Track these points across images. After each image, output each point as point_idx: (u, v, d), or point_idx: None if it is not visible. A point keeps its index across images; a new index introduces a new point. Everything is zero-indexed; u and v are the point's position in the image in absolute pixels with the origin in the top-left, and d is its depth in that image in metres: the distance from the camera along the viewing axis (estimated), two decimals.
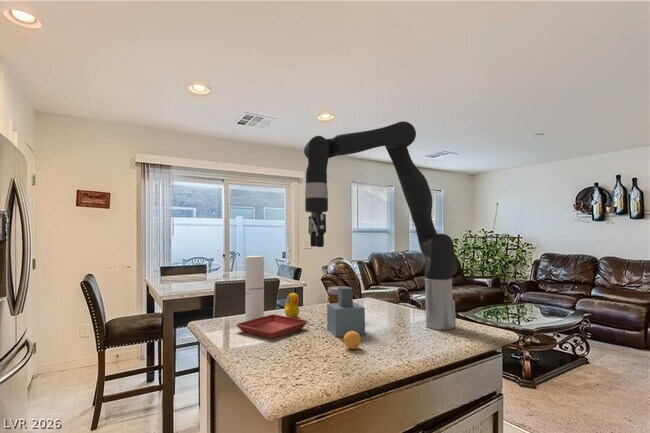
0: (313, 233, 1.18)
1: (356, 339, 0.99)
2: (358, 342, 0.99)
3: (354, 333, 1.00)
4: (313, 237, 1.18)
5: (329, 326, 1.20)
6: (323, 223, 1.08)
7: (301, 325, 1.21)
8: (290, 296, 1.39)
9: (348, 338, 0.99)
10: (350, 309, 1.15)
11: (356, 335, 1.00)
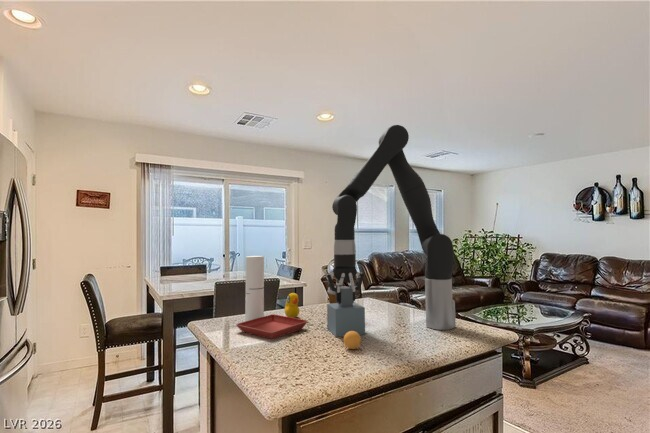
0: None
1: (356, 339, 0.99)
2: (358, 342, 0.99)
3: (354, 333, 1.00)
4: None
5: (329, 326, 1.20)
6: None
7: (301, 325, 1.21)
8: (290, 296, 1.39)
9: (348, 338, 0.99)
10: (350, 309, 1.15)
11: (356, 335, 1.00)
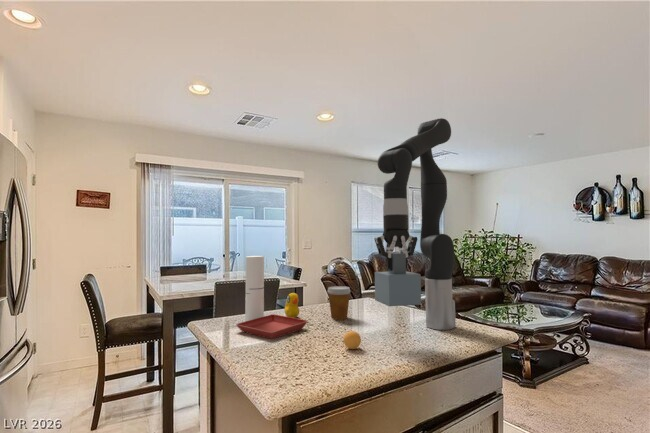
0: None
1: (356, 339, 0.99)
2: (358, 342, 0.99)
3: (354, 333, 1.00)
4: None
5: (378, 296, 1.07)
6: None
7: (301, 325, 1.21)
8: (290, 296, 1.39)
9: (348, 338, 0.99)
10: (404, 275, 1.01)
11: (356, 335, 1.00)
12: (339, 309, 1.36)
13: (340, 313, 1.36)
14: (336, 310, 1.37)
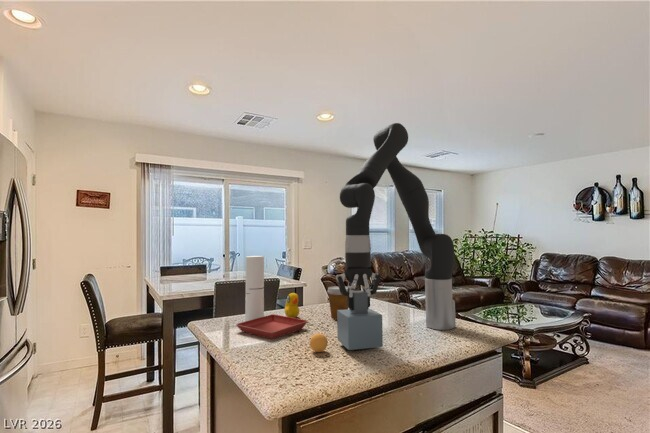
0: None
1: (321, 348, 0.97)
2: (317, 347, 0.96)
3: (324, 349, 0.98)
4: None
5: (340, 337, 1.03)
6: None
7: (301, 325, 1.21)
8: (290, 296, 1.39)
9: (326, 342, 0.98)
10: (365, 317, 0.97)
11: (322, 350, 0.97)
12: (339, 309, 1.36)
13: None
14: (336, 310, 1.37)
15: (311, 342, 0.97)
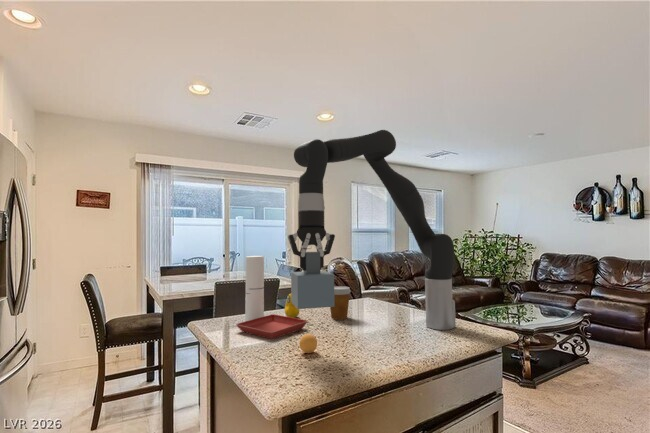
0: None
1: (313, 346, 0.96)
2: (311, 350, 0.96)
3: (316, 341, 0.98)
4: None
5: (292, 298, 1.00)
6: None
7: (301, 325, 1.21)
8: (290, 296, 1.39)
9: (310, 338, 0.97)
10: (315, 276, 0.94)
11: (316, 344, 0.97)
12: (339, 309, 1.36)
13: (340, 313, 1.36)
14: (336, 310, 1.37)
15: (304, 351, 0.97)
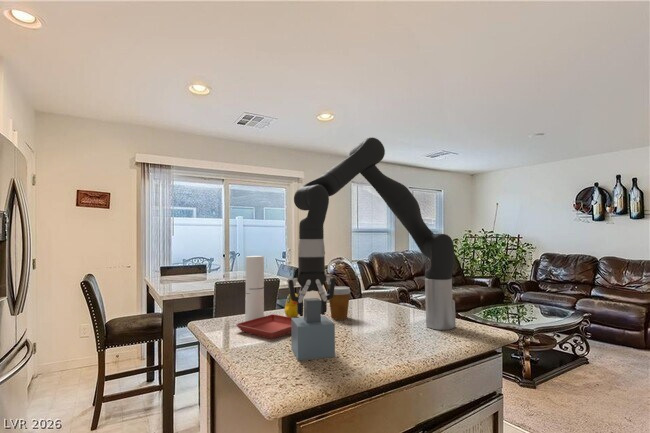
0: None
1: None
2: None
3: None
4: None
5: (293, 346, 0.99)
6: None
7: None
8: None
9: None
10: (316, 326, 0.93)
11: None
12: (339, 309, 1.36)
13: (340, 313, 1.36)
14: (336, 310, 1.37)
15: None
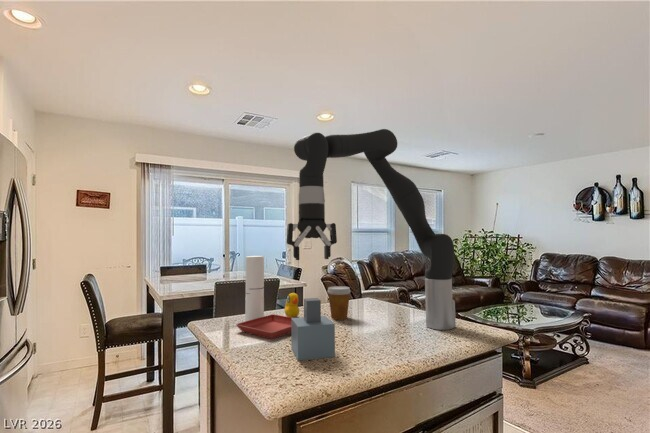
0: None
1: None
2: None
3: None
4: None
5: (293, 346, 0.99)
6: None
7: None
8: (290, 296, 1.39)
9: None
10: (316, 326, 0.93)
11: None
12: (339, 309, 1.36)
13: (340, 313, 1.36)
14: (336, 310, 1.37)
15: None
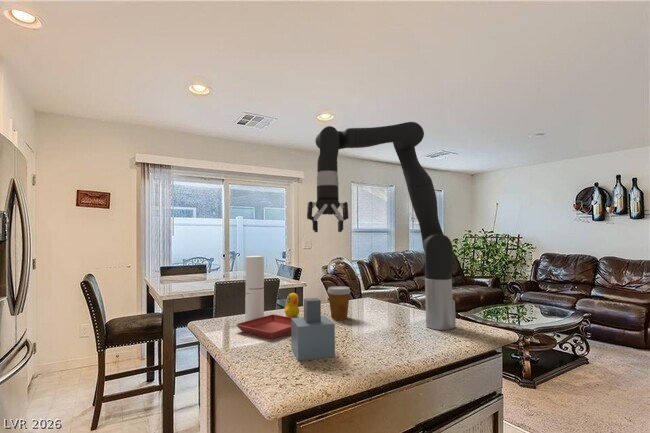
0: None
1: None
2: None
3: None
4: None
5: (293, 346, 0.99)
6: None
7: None
8: (290, 296, 1.39)
9: None
10: (316, 326, 0.93)
11: None
12: (339, 309, 1.36)
13: (340, 313, 1.36)
14: (336, 310, 1.37)
15: None
